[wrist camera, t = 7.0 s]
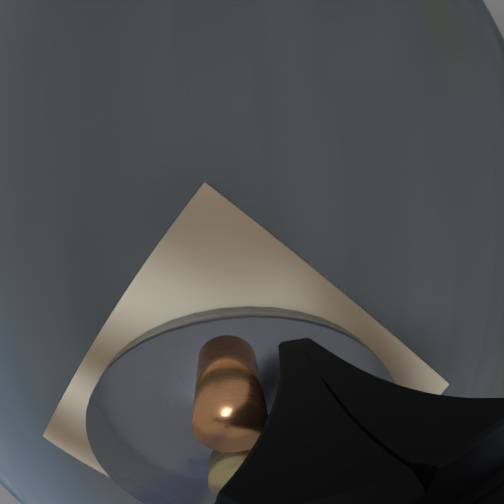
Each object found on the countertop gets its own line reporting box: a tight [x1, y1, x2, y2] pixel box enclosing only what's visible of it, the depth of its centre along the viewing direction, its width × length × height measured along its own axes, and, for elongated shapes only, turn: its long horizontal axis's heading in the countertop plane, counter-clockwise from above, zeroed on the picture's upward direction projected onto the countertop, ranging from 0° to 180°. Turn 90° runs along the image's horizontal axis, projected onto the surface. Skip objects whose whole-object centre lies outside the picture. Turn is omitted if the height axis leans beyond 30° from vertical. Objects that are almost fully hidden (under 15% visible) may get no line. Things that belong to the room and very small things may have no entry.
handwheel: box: [86, 306, 395, 504], centre depth 10 cm, size 15×15×5 cm
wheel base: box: [43, 182, 449, 476], centre depth 14 cm, size 17×17×1 cm
